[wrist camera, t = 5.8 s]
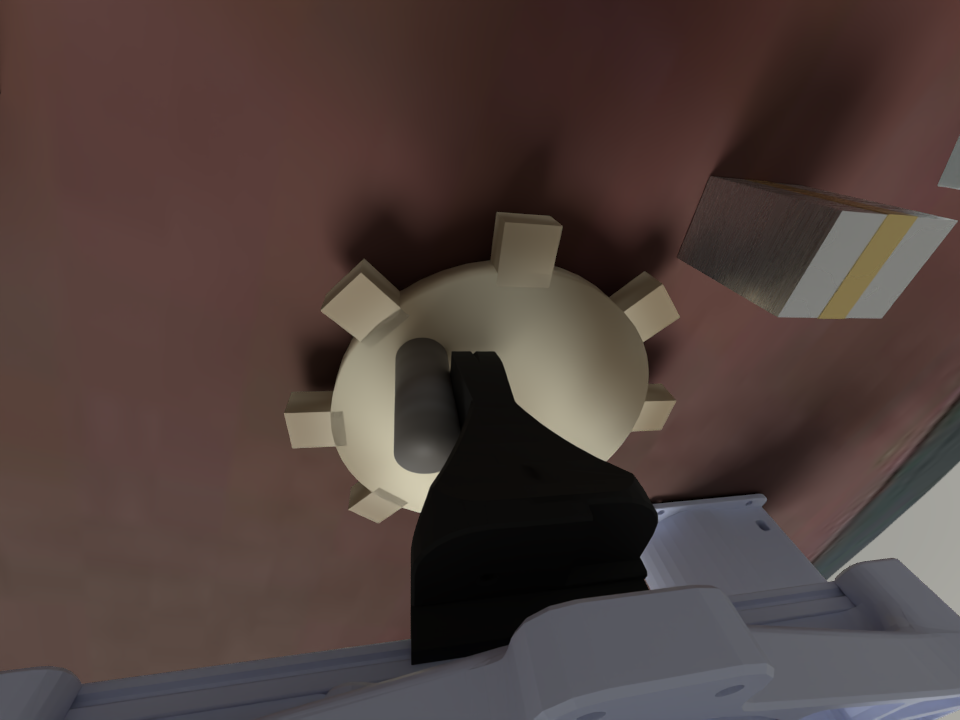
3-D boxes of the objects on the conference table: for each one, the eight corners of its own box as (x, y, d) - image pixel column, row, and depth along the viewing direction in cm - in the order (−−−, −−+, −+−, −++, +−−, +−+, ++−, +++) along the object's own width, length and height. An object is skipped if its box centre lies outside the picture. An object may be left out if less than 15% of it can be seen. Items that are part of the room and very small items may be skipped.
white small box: (800, 184, 14) (959, 220, 10) (759, 262, 16) (881, 319, 12) (710, 175, 14) (843, 210, 9) (676, 258, 15) (777, 317, 11)
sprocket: (544, 87, 10) (650, 82, 6) (713, 396, 19) (807, 487, 15) (201, 412, 14) (113, 551, 10) (468, 546, 23) (484, 652, 19)
